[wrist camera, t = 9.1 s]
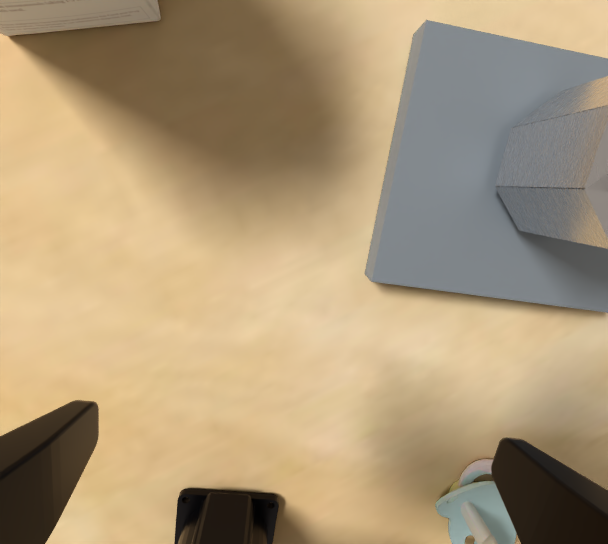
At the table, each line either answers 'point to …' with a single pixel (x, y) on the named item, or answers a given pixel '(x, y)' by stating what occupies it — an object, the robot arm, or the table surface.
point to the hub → (560, 167)
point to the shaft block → (476, 174)
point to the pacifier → (476, 509)
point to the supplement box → (72, 14)
